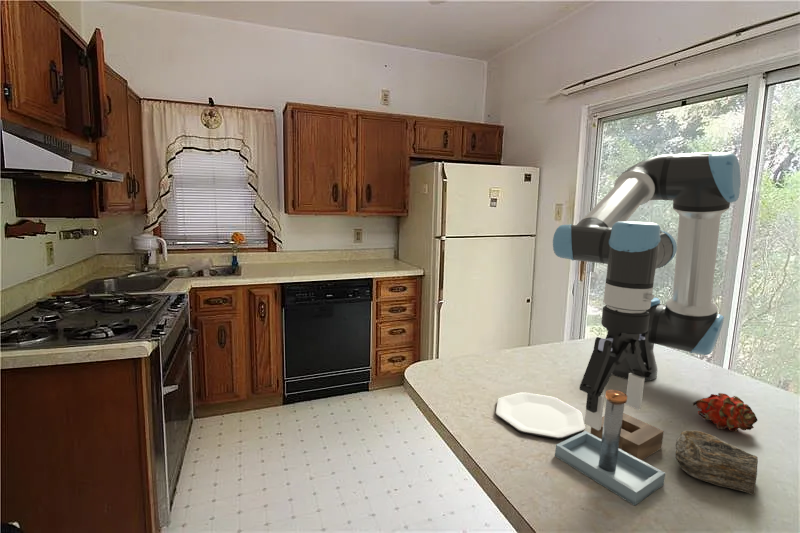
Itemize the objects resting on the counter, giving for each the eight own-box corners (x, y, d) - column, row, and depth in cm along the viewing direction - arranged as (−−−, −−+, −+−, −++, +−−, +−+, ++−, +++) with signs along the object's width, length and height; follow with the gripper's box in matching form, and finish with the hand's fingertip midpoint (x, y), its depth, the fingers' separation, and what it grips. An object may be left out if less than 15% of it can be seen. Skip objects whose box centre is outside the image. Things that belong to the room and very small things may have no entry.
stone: (659, 454, 80) (683, 410, 82) (668, 470, 86) (690, 430, 88) (744, 502, 70) (770, 451, 72) (747, 517, 75) (771, 470, 78)
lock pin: (593, 464, 81) (601, 392, 78) (603, 458, 83) (612, 388, 80) (610, 475, 78) (620, 400, 75) (621, 468, 80) (631, 395, 77)
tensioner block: (589, 438, 91) (591, 421, 90) (615, 426, 96) (617, 410, 95) (636, 463, 82) (638, 445, 82) (661, 448, 88) (663, 430, 87)
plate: (539, 450, 86) (540, 444, 86) (479, 408, 103) (480, 402, 103) (602, 428, 95) (602, 422, 95) (537, 392, 113) (537, 387, 112)
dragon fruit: (758, 447, 92) (693, 431, 101) (762, 414, 96) (700, 402, 105) (753, 424, 88) (686, 410, 97) (758, 392, 93) (694, 381, 102)
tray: (554, 456, 84) (555, 444, 84) (584, 441, 89) (585, 430, 89) (634, 505, 71) (636, 492, 70) (663, 485, 76) (665, 472, 76)
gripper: (606, 324, 65) (593, 446, 69) (681, 303, 79) (667, 407, 82) (564, 312, 71) (554, 425, 75) (641, 295, 85) (629, 391, 88)
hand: (613, 416), depth 79 cm, fingers open, 13 cm apart
